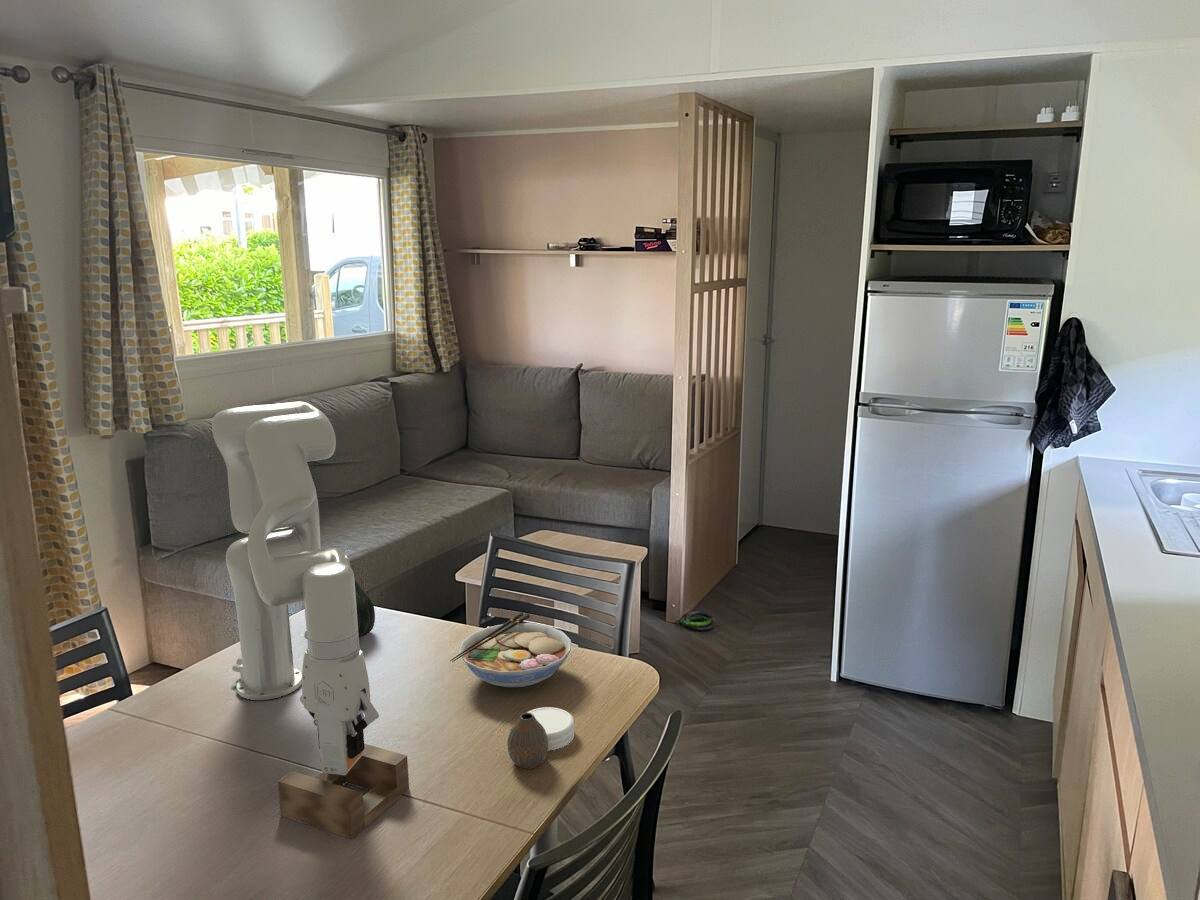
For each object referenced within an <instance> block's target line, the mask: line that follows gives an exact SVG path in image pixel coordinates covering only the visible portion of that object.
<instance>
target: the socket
mask: <svg viewBox="0 0 1200 900" xmlns="http://www.w3.org/2000/svg"><path fill="white" fill-rule="evenodd" d="M364 746H365V748H364V750H363V751H362V754H363V755H362V757H361V758H360V759H359V760H358V761H357V762H356V763H355V764H354V765H353V767H352V768H351V769H350V770H349V771H348V773H347V774H346V775H337V774H329V773H322V772H321V773H320V772H319V774H318V775H317V776H315V777H314V776H309V775H307V774H303V773H300V772H297V771H293V770H291V771H289V772H288V773H287V774H286V775H284V776H283V777H281V778H280V779H278V780H277V788H278V795H279V796H278V798H279V806H280V809H279V810H280V815H281V816H283V817H286V818H287V819H291V820H294V821H296V822H300V823H303V824H306V825H309V826H311V827H315V828H318V829H321V830H323V831H326V832H329V833H333V834H335V835H339V836H342V837H345V838H347V839H350V840H353V839H354V838H356V836H358V835H359V834H360V833H361V832H362V831H363V830H365V828H366V827H367V826H369V825H371V823H373V821H375V819H377V818H378V817H379V816H380V815H382V814H383V813H384V812H385V811H386V810H387V809H388V808H389V807H390V806H391V805H392V804H394V803H395V802H397V800H398V799H399V798H400V797H402V795H404V794H405V793H406V792H407V791H409V789H410V781H409V780H410V779H409V763H408V755H407V754H406V755H405V754H402V753H399V752H395V751H392V750H388V749H384V748H382V747H377V746H374V745H372V744H371V745H370V744H367V743H364ZM346 784H349V785H353V786H356V787H358V788H363V789H365V790H368V791H367V792H366V793H365V794H363V792H361V791H358V790H354V789H351V788H348V787H346V786H345V787H344V785H346Z"/></svg>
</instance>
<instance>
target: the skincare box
mask: <svg viewBox="0 0 1200 900" xmlns="http://www.w3.org/2000/svg"><path fill="white" fill-rule="evenodd" d="M329 705H330V704H325V703H322V702H318V703H317V718H318V726H317V732H318V731H319V740H318V745H319V744H320V749H319V754H320V755H319V756H320V768H321V773H329V774H337V775H346V774H347V773H348V771H349V770H350V769H351V768H352V767H353V765H354V764H355V763H356V762H357V761H358V760H359V759H360V758H361V757H362V755H363V754H362V752H361V753H360V754H358V755H357V756H356V757H354V758H353V759H350V758H349V757H348V749H347V735H349V734H350V733H349V730H348V727H347V724H346V722H344V721H340V720H337V719H333V718H332V715H331V710H330V706H329ZM354 722H355V725H356V724H357V723H358V722H357V719H356V718H355V719H354Z"/></svg>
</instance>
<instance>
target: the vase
mask: <svg viewBox="0 0 1200 900" xmlns="http://www.w3.org/2000/svg"><path fill="white" fill-rule="evenodd" d="M506 745H507V752H508V755H509V758H510V760H511V762H513V763H514V764H515V766H517V767H519V768H521V769H524V768H525V770H526V769H528V770H530V769H529V768H531V769H534V768H536V767H538V766H540V764H541V763H542V762H544V760H545V759H546V756H547V753H548V751H547V750H548V737H547V734H546V731H545V729H544V727H543V726H542V725H541V724H540V723H539V722H538V721H537V720H536V718H535V716H534V715H533V714H532V713H527V712H523V713H521V714H520V716H519V717H518V719H517V721H515V723H514V725H513V726H512V727H511V729H510V731H509V733H508V737H507V744H506Z"/></svg>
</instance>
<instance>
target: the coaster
mask: <svg viewBox="0 0 1200 900" xmlns="http://www.w3.org/2000/svg"><path fill="white" fill-rule="evenodd" d="M526 713H532V714H533V715H534V716H535V718H536V720H537V721H538V722H539V723H540V724H541V725H542V726H543V727H544V729H545V731H546V734H547V737H548V750H547V752H551V751H550V750H553V751H557V750H556V749H558V750H560V749H559V748H561V749H563V748H565V747H566V745H567V746H568V745H570V744H571V743H572V741H573V739H574V738H575V720H574V717H573V715H572V714H571V713H570V712H568V711H566V710H564V709H562V708H558V707H550V706H548V707H547V706H544V707H543V706H542V707H537V708H534V709H531V710H529V711H526ZM570 742H571V743H570ZM569 743H570V744H569ZM564 746H565V747H564ZM562 747H563V748H562Z"/></svg>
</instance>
